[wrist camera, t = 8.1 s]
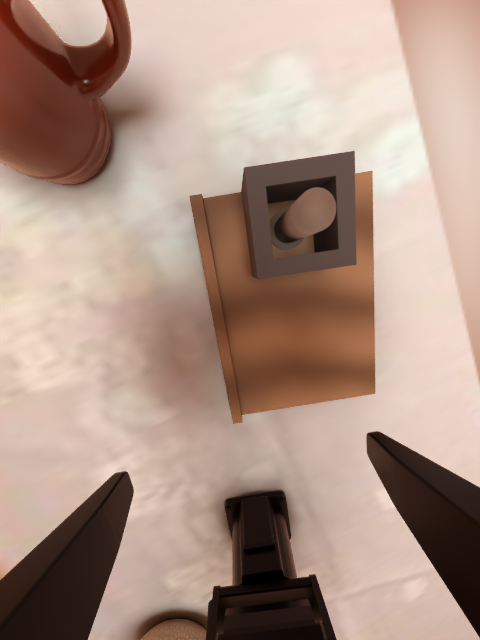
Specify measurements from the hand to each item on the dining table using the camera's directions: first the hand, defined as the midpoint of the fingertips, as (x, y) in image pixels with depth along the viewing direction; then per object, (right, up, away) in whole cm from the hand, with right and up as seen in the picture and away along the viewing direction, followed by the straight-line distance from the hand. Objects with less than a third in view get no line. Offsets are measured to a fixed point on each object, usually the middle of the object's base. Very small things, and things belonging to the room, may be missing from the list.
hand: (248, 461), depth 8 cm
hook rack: (+4, +6, +11) cm, 13 cm away
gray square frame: (+3, +12, +8) cm, 15 cm away
